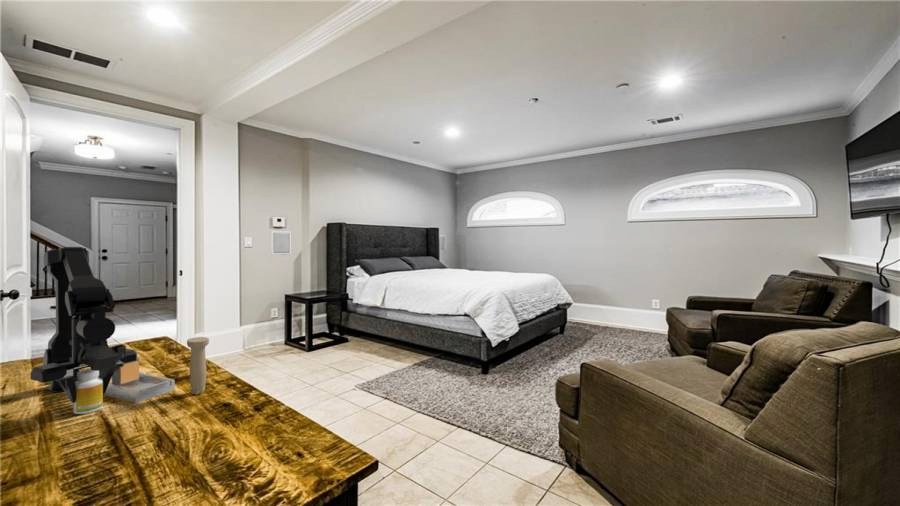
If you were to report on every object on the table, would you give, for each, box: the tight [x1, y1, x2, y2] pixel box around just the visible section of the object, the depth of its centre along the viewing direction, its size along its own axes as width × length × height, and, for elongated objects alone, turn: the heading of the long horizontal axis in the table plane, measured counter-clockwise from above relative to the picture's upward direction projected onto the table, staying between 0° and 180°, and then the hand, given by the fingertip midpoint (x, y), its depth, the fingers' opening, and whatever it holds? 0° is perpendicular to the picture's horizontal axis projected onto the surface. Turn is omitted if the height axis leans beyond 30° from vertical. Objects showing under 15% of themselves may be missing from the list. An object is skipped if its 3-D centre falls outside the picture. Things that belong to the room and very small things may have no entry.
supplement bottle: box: [72, 368, 104, 415], centre depth 94 cm, size 5×5×10 cm
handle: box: [186, 336, 210, 395], centre depth 106 cm, size 5×6×15 cm
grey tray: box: [103, 357, 176, 404], centre depth 106 cm, size 16×10×8 cm, turn 69°
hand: (88, 398), depth 95 cm, fingers closed on supplement bottle, 5 cm apart
